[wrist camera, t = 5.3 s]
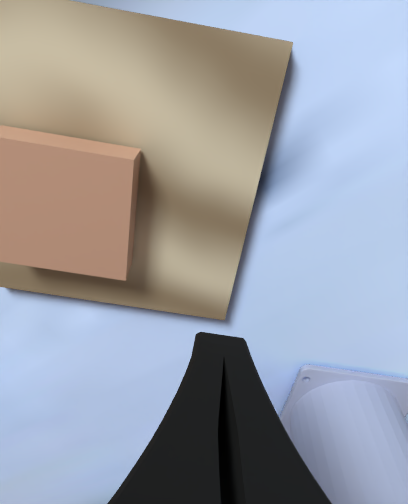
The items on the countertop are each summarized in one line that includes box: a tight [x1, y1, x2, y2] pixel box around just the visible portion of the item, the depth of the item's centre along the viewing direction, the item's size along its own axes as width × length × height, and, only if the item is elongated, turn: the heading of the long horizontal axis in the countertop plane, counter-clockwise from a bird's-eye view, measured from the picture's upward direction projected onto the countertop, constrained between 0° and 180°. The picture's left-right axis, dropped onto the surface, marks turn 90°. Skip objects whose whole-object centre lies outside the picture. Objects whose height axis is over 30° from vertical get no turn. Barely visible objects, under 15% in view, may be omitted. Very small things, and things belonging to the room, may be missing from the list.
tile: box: [0, 125, 141, 281], centre depth 17 cm, size 6×2×6 cm
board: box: [0, 0, 293, 320], centre depth 18 cm, size 14×13×1 cm
